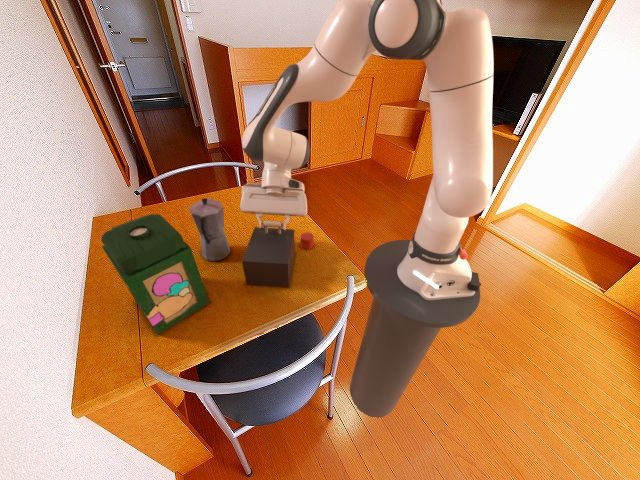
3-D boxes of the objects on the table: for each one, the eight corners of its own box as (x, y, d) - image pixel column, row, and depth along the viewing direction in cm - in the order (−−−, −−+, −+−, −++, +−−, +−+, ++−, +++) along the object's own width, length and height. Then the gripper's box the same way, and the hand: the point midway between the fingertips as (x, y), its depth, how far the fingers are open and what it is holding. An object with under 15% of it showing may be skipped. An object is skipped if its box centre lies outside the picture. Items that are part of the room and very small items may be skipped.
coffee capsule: (313, 241, 97) (313, 232, 95) (312, 249, 94) (313, 240, 91) (301, 240, 97) (301, 231, 95) (299, 248, 94) (299, 240, 91)
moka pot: (232, 237, 97) (221, 186, 84) (232, 267, 86) (220, 215, 73) (203, 240, 95) (188, 189, 82) (200, 272, 84) (181, 219, 71)
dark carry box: (257, 251, 92) (254, 230, 86) (294, 253, 92) (294, 233, 86) (246, 284, 81) (242, 263, 75) (288, 287, 81) (287, 266, 75)
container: (185, 271, 84) (157, 201, 68) (216, 305, 75) (193, 234, 59) (133, 298, 75) (88, 225, 59) (161, 340, 66) (117, 268, 50)
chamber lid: (255, 228, 87) (253, 215, 84) (294, 231, 87) (294, 218, 84) (242, 263, 75) (239, 249, 72) (287, 266, 75) (287, 252, 72)
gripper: (239, 179, 81) (235, 225, 80) (308, 183, 81) (305, 230, 80) (245, 185, 87) (241, 228, 86) (309, 189, 87) (306, 232, 86)
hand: (272, 229), depth 83 cm, fingers closed on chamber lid, 5 cm apart
